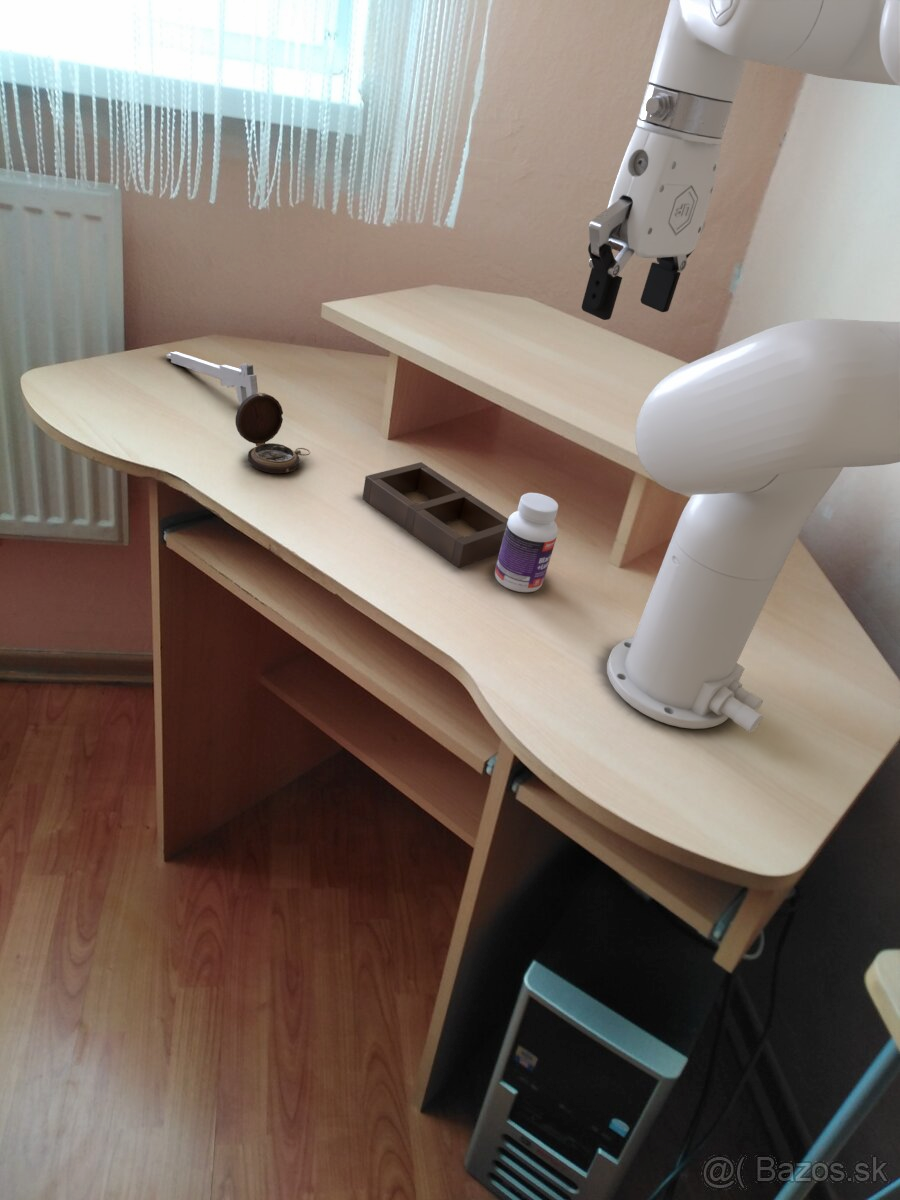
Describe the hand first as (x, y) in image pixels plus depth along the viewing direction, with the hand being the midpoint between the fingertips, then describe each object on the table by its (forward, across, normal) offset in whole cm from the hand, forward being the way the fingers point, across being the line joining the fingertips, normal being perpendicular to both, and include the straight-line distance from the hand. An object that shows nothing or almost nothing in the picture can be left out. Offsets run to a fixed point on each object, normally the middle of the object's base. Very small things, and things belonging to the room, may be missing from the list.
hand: (625, 311), depth 87 cm
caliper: (+28, -12, +54) cm, 62 cm away
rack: (+28, -8, +12) cm, 32 cm away
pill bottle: (+28, -8, -2) cm, 30 cm away
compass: (+28, -16, +32) cm, 46 cm away
